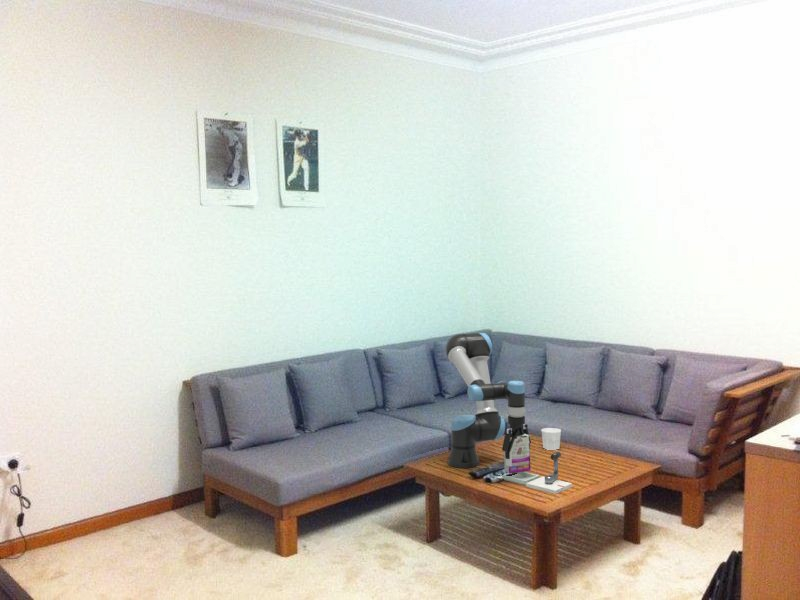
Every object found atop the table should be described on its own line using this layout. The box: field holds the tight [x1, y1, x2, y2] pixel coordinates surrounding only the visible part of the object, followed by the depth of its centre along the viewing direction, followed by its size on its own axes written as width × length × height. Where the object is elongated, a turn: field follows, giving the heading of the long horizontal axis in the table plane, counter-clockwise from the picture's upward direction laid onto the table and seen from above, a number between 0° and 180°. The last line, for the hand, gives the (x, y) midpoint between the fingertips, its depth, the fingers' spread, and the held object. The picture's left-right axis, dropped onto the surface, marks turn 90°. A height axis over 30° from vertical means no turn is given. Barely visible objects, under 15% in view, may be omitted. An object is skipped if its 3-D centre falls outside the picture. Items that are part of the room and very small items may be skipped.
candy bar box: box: [503, 433, 531, 474], centre depth 328 cm, size 11×5×16 cm, turn 111°
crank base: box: [525, 476, 573, 495], centre depth 317 cm, size 15×13×2 cm
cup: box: [540, 427, 562, 451], centre depth 377 cm, size 10×10×10 cm
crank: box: [544, 451, 562, 484], centre depth 319 cm, size 11×4×11 cm, turn 142°
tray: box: [498, 471, 541, 487], centre depth 328 cm, size 17×11×2 cm, turn 45°
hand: (516, 462), depth 328 cm, fingers closed on candy bar box, 12 cm apart
